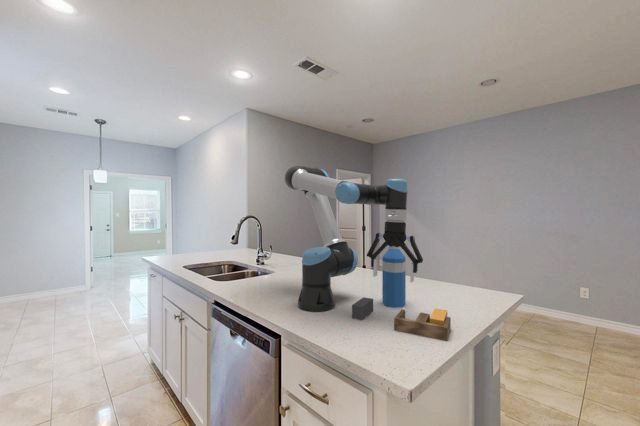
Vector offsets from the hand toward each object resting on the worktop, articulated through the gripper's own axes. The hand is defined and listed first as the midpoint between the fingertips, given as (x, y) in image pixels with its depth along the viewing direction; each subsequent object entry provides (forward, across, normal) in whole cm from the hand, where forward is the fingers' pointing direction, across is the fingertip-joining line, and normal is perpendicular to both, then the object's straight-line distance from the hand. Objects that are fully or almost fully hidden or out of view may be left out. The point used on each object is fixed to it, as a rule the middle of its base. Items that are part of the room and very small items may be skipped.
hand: (393, 278), depth 106 cm
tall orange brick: (+13, +17, -5) cm, 22 cm away
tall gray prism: (+14, -10, -4) cm, 18 cm away
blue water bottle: (+14, -3, +14) cm, 20 cm away
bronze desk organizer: (+13, +12, -8) cm, 20 cm away
